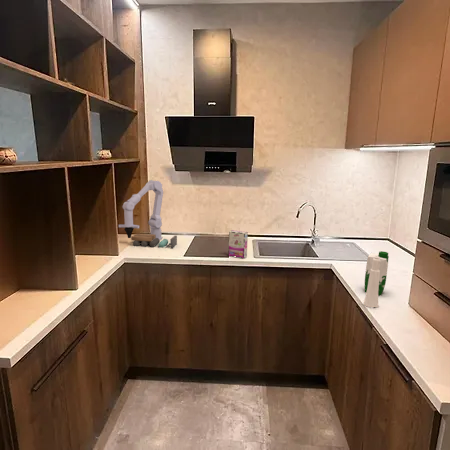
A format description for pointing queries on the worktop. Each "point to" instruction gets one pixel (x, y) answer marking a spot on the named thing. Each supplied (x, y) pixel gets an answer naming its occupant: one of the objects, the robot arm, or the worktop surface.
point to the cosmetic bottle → (373, 284)
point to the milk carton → (382, 268)
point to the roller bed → (145, 243)
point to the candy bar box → (238, 243)
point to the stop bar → (173, 242)
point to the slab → (143, 237)
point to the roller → (163, 243)
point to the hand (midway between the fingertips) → (129, 237)
